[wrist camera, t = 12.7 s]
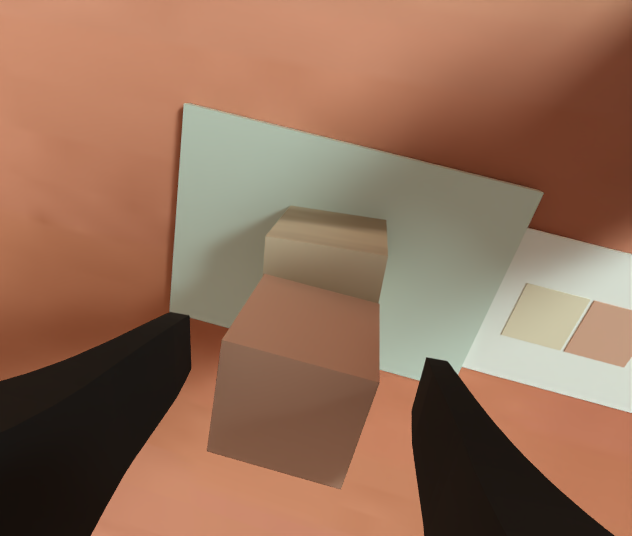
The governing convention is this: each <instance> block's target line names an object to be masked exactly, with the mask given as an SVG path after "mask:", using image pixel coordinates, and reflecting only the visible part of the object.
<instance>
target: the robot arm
mask: <svg viewBox="0 0 632 536" xmlns="http://www.w3.org/2000/svg"><path fill="white" fill-rule="evenodd" d="M190 370H191V345H190V315H185V314H179V313H174V312H170V313H167V314H165V315H162V316H160V317H158V318H156V319H154V320H152V321H150V322H148V323H146V324H143V325H141V326H139V327H137V328H135V329H133V330H131V331H129V332H127V333H125V334H123V335H121V336H119V337H117V338H114V339H112V340H110V341H108V342H106V343H104V344H101V345H99V346H97V347H94V348H92V349H90V350H87V351H85V352H83V353H81V354H78V355H76V356H74V357H71V358H69V359H66V360H63V361H61V362H58V363H56V364H53V365H50V366H47V367H44V368H41V369H39V370H36V371H33V372H30V373H27V374H24V375H20V376H17V377H13V378H10V379H7V380H3V381H0V536H91V534H92V532H93V530H94V529H95V527H96V525H97V523H98V521H99V519H100V517H101V515H102V513H103V512H104V510H105V508H106V506H107V504H108V502H109V501H110V499H111V497H112V495H113V494H114V492H115V490H116V488H117V486H118V485H119V483H120V481H121V479H122V478H123V476H124V474H125V473H126V471H127V469H128V468H129V466H130V465H131V463H132V462H133V460H134V459H135V457H136V456H137V454H138V453H139V451H140V450H141V449H142V447H143V446H144V444H145V443H146V441H147V440H148V438H149V437H150V436H151V434H152V433H153V431H154V430H155V428H156V427H157V426H158V424H159V423H160V421H161V420H162V418H163V417H164V415H165V414H166V413H167V411H168V410H169V408H170V407H171V405H172V404H173V402H174V401H175V399H176V398H177V396H178V394H179V392H180V390H181V388H182V387H183V385H184V383H185V381H186V379H187V377H188V374H189V372H190ZM412 446H413V454H414V461H415V469H416V476H417V483H418V490H419V497H420V504H421V511H422V518H423V526H424V536H614V535H613V534H612V533H610V532H609V531H608V530H606V529H605V528H604V527H603V526H601V525H600V524H599V523H598V522H597V521H595V520H594V519H593V518H592V517H590V516H589V515H588V514H587V513H585V512H584V511H583V510H582V509H581V508H580V507H579V506H577V505H576V504H575V503H574V502H573V501H572V500H571V499H569V498H568V497H567V496H566V495H565V494H564V493H562V492H561V491H560V490H559V489H558V488H557V487H556V486H555V485H554V484H553V483H551V482H550V481H549V480H548V479H547V478H546V477H545V476H544V475H543V474H542V473H541V472H540V471H539V470H538V469H537V468H536V467H535V466H534V465H533V464H532V463H531V462H530V461H529V460H528V459H527V458H526V457H525V456H524V455H523V454H522V453H521V452H520V451H519V450H518V449H517V448H516V447H515V446H514V445H513V443H512V442H511V441H510V440H509V439H508V438H507V437H506V435H505V434H504V433H503V432H502V431H501V430H500V429H499V427H498V426H497V425H496V424H495V423H494V422H493V420H492V419H491V418H490V417H489V416H488V414H487V413H486V412H485V411H484V409H483V408H482V407H481V405H480V404H479V403H478V402H477V400H476V399H475V398H474V396H473V395H472V394H471V392H470V391H469V390H468V388H467V387H466V386H465V384H464V383H463V381H462V380H461V379H460V377H459V376H458V374H457V373H456V372H455V370H454V369H453V368H452V366H451V365H450V363H449V362H448V361H445V360H439V359H433V358H428V357H426V360H425V364H424V367H423V371H422V375H421V378H420V382H419V386H418V389H417V393H416V397H415V400H414V404H413V408H412Z"/></svg>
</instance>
